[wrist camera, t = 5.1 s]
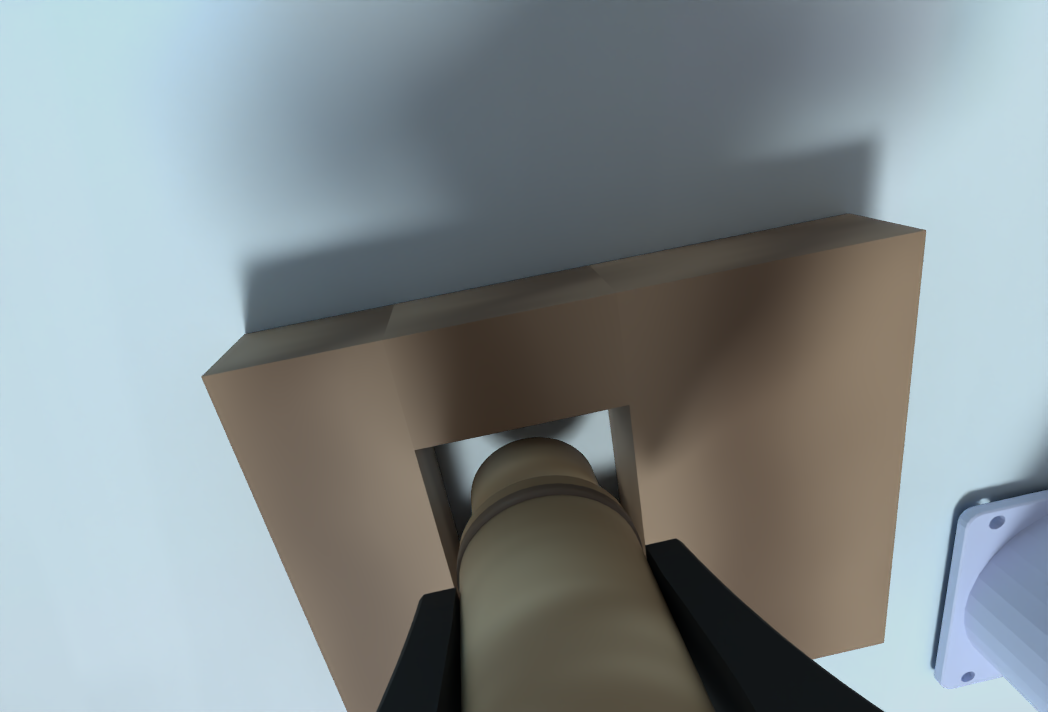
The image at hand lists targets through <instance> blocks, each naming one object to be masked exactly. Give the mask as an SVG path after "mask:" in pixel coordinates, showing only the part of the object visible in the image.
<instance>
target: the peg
mask: <svg viewBox="0 0 1048 712" xmlns="http://www.w3.org/2000/svg"><path fill="white" fill-rule="evenodd" d="M471 506H472V516H471V518H470V519H469V521H468V522H467V524H466V527H465V529H464V531H463V534H462V537H461V540H460V547H459V551H458V556H457V586H458V591H459V595H460V657H461V712H715V710H714V707H713V705H712V703H711V701H710V699H709V696H708V694H707V692H706V690H705V687H704V685H703V683H702V681H701V679H700V676H699V674H698V672H697V670H696V667H695V665H694V663H693V661H692V659H691V656H690V654H689V652H688V650H687V647H686V645H685V643H684V641H683V639H682V636H681V634H680V632H679V630H678V627H677V625H676V623H675V621H674V619H673V616H672V614H671V612H670V610H669V607H668V605H667V603H666V601H665V599H664V596H663V594H662V592H661V590H660V587H659V585H658V583H657V581H656V579H655V576H654V574H653V572H652V570H651V567H650V565H649V563H648V561H647V559H646V556H645V554H644V552H643V548H642V543H641V540H640V537H639V535H638V532H637V530H636V528H635V526H634V524H633V522H632V520H631V518H630V517H629V515H628V514H627V513H626V511H625V510H624V509H623V507H622V506H621V504H620V503H619V502H618V501H617V500H616V498H615V497H614V496H612V495H611V494H610V493H609V492H608V491H606V490H605V489H603V488H602V487H600V486H599V484H598V482H597V480H596V477H595V475H594V472H593V470H592V467H591V465H590V464H589V462H588V460H587V459H586V458H585V457H584V455H583V454H582V453H581V452H579V451H578V450H577V449H576V448H574V447H573V446H571V445H569V444H567V443H565V442H562V441H559V440H556V439H551V438H543V437H534V438H526V439H521V440H517V441H514V442H512V443H509V444H507V445H505V446H503V447H501V448H499V449H498V450H497V451H495V452H494V453H492V454H491V455H490V456H489V457H488V458H487V459H486V460H485V461H484V462H483V464H482V465H481V466H480V468H479V469H478V471H477V473H476V475H475V477H474V480H473V484H472V489H471Z"/></svg>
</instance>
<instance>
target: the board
mask: <svg viewBox="0 0 1048 712" xmlns="http://www.w3.org/2000/svg"><path fill="white" fill-rule="evenodd" d="M925 237H926V230H923V229H919V228H914V227H909V226H905V225H900V224H895V223H891V222H886V221H881V220H877V219H872V218H868V217H863V216H858V215H854V214H844V215H839V216H834V217H829V218H824V219H819V220H814V221H809V222H804V223H799V224H794V225H789V226H784V227H779V228H774V229H769V230H764V231H759V232H754V233H749V234H744V235H739V236H734V237H729V238H724V239H719V240H714V241H709V242H704V243H699V244H694V245H689V246H684V247H679V248H674V249H669V250H664V251H659V252H654V253H649V254H644V255H639V256H634V257H629V258H624V259H619V260H614V261H609V262H604V263H599V264H594V265H589V266H584V267H579V268H574V269H569V270H564V271H559V272H554V273H549V274H544V275H539V276H534V277H529V278H524V279H519V280H514V281H509V282H504V283H499V284H494V285H489V286H484V287H479V288H474V289H469V290H464V291H459V292H454V293H449V294H444V295H439V296H434V297H429V298H424V299H419V300H414V301H409V302H404V303H399V304H393V305H388V306H383V307H378V308H373V309H368V310H363V311H358V312H353V313H348V314H343V315H338V316H333V317H328V318H323V319H318V320H313V321H308V322H303V323H298V324H293V325H288V326H283V327H278V328H273V329H268V330H263V331H258V332H253V333H248V334H244V335H243V336H242V337H241V338H240V339H239V340H238V341H237V342H236V343H235V344H234V345H233V346H232V347H231V348H230V349H229V350H228V351H227V352H226V353H225V354H224V355H223V356H222V357H221V358H220V359H219V360H218V361H217V362H216V363H215V364H214V365H213V366H212V367H211V368H210V369H209V370H208V371H207V372H206V373H205V374H204V375H203V376H202V380H203V382H204V384H205V386H206V389H207V391H208V393H209V396H210V398H211V400H212V403H213V405H214V407H215V409H216V412H217V414H218V416H219V419H220V421H221V423H222V425H223V428H224V430H225V432H226V435H227V437H228V439H229V441H230V444H231V446H232V448H233V451H234V453H235V455H236V458H237V460H238V462H239V464H240V467H241V469H242V471H243V474H244V476H245V478H246V480H247V483H248V485H249V487H250V490H251V492H252V494H253V497H254V499H255V501H256V503H257V506H258V508H259V510H260V513H261V515H262V517H263V519H264V522H265V524H266V526H267V529H268V531H269V533H270V536H271V538H272V540H273V542H274V545H275V547H276V549H277V552H278V554H279V556H280V558H281V561H282V563H283V565H284V568H285V570H286V572H287V575H288V577H289V579H290V581H291V584H292V586H293V588H294V591H295V593H296V595H297V597H298V600H299V602H300V604H301V607H302V609H303V611H304V614H305V616H306V618H307V620H308V623H309V625H310V627H311V630H312V632H313V634H314V636H315V639H316V641H317V643H318V646H319V648H320V650H321V653H322V655H323V657H324V659H325V662H326V664H327V666H328V669H329V671H330V673H331V675H332V678H333V680H334V682H335V685H336V687H337V689H338V691H339V694H340V696H341V698H342V701H343V703H344V705H345V708H346V710H347V712H376V711H377V709H378V706H379V704H380V702H381V699H382V697H383V695H384V692H385V690H386V688H387V685H388V683H389V681H390V678H391V676H392V673H393V671H394V669H395V666H396V664H397V661H398V659H399V656H400V654H401V651H402V648H403V646H404V643H405V641H406V638H407V635H408V632H409V630H410V627H411V624H412V621H413V618H414V615H415V612H416V609H417V606H418V603H419V600H420V599H421V597H422V596H423V595H424V594H428V593H432V592H437V591H441V590H446V589H450V588H455V587H456V590H457V593H458V597H459V600H460V595H459V591H458V586H457V556H458V551H459V547H460V541H459V538H458V534H457V531H456V527H455V523H454V520H453V516H452V512H451V509H450V505H449V501H448V498H447V494H446V490H445V487H444V483H443V479H442V476H441V472H440V469H439V465H438V461H437V458H436V454H435V450H434V447H433V446H437V445H442V444H446V443H451V442H456V441H461V440H465V439H470V438H475V437H480V436H484V435H489V434H494V433H499V432H503V431H508V430H513V429H518V428H522V427H527V426H532V425H537V424H541V423H546V422H551V421H556V420H560V419H565V418H570V417H575V416H579V415H584V414H589V413H593V412H598V411H603V410H608V411H609V419H610V427H611V434H612V442H613V450H614V457H615V465H616V473H617V481H618V488H619V496H620V504H621V506H622V507H623V509H624V510H625V511H626V513H627V514H628V515H629V517H630V518H631V520H632V522H633V524H634V526H635V528H636V530H637V532H638V535H639V537H640V540H641V543H642V548H643V552H644V554H645V556H646V550H645V545H648V544H653V543H657V542H661V541H666V540H670V539H675V538H677V539H678V540H680V541H681V542H683V544H684V545H685V546H686V547H687V548H688V549H689V550H690V551H691V552H692V553H693V554H694V555H695V556H696V557H697V558H698V559H699V560H700V561H701V562H702V563H703V564H704V565H705V566H706V567H707V568H708V569H709V570H710V571H711V572H712V573H713V574H714V575H715V576H716V577H717V578H718V579H719V580H720V581H721V582H722V583H723V584H724V585H725V586H727V587H728V588H729V589H730V590H731V591H732V592H733V593H734V594H735V595H736V596H737V597H738V598H739V599H741V600H742V601H743V602H744V603H745V604H746V605H747V606H749V607H750V608H751V609H752V610H753V611H754V612H755V613H756V614H758V615H759V616H760V617H761V618H762V619H763V620H764V621H766V622H767V623H768V624H769V625H770V626H771V627H773V628H774V629H775V630H776V631H777V632H779V633H780V634H781V635H782V636H783V637H785V638H786V639H787V640H788V641H789V642H791V643H792V644H793V645H794V646H796V647H797V648H798V649H799V650H801V651H802V652H803V653H804V654H806V655H807V656H808V657H809V658H811V659H816V658H820V657H825V656H829V655H833V654H838V653H842V652H846V651H851V650H855V649H859V648H863V647H868V646H872V645H876V644H881V643H884V636H885V626H886V616H887V607H888V597H889V587H890V578H891V568H892V558H893V548H894V539H895V529H896V519H897V509H898V500H899V490H900V480H901V470H902V461H903V451H904V441H905V432H906V422H907V412H908V402H909V393H910V383H911V373H912V363H913V354H914V344H915V334H916V325H917V315H918V305H919V295H920V286H921V276H922V266H923V256H924V247H925ZM646 559H647V558H646Z"/></svg>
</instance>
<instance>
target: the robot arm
mask: <svg viewBox="0 0 1048 712" xmlns="http://www.w3.org/2000/svg"><path fill="white" fill-rule="evenodd" d="M645 550H646V558H647V561H648V563H649V565H650V567H651V570H652V572H653V574H654V576H655V579H656V581H657V583H658V585H659V587H660V590H661V592H662V594H663V596H664V599H665V601H666V603H667V605H668V607H669V610H670V612H671V614H672V616H673V619H674V621H675V623H676V625H677V627H678V630H679V632H680V634H681V636H682V639H683V641H684V643H685V645H686V647H687V650H688V652H689V654H690V656H691V659H692V661H693V663H694V665H695V667H696V670H697V672H698V674H699V676H700V679H701V681H702V683H703V685H704V687H705V690H706V692H707V694H708V696H709V699H710V701H711V703H712V705H713V707H714V710H715V712H884V711H882V710H881V709H879V708H878V707H876V706H875V705H874V704H872V703H871V702H869V701H868V700H866V699H865V698H864V697H862V696H861V695H859V694H858V693H857V692H855V691H854V690H852V689H851V688H849V687H848V686H847V685H845V684H844V683H842V682H841V681H840V680H838V679H837V678H836V677H834V676H833V675H832V674H830V673H829V672H828V671H826V670H825V669H824V668H822V667H821V666H820V665H818V664H817V663H816V662H815V661H813V660H812V659H811V658H809V657H808V656H807V655H806V654H804V653H803V652H802V651H801V650H799V649H798V648H797V647H796V646H794V645H793V644H792V643H791V642H789V641H788V640H787V639H786V638H785V637H783V636H782V635H781V634H780V633H779V632H777V631H776V630H775V629H774V628H773V627H771V626H770V625H769V624H768V623H767V622H766V621H764V620H763V619H762V618H761V617H760V616H759V615H758V614H756V613H755V612H754V611H753V610H752V609H751V608H750V607H749V606H747V605H746V604H745V603H744V602H743V601H742V600H741V599H739V598H738V597H737V596H736V595H735V594H734V593H733V592H732V591H731V590H730V589H729V588H728V587H727V586H725V585H724V584H723V583H722V582H721V581H720V580H719V579H718V578H717V577H716V576H715V575H714V574H713V573H712V572H711V571H710V570H709V569H708V568H707V567H706V566H705V565H704V564H703V563H702V562H701V561H700V560H699V559H698V558H697V557H696V556H695V555H694V554H693V553H692V552H691V551H690V550H689V549H688V548H687V547H686V546H685V545H684V544H683V542H681V541H680V540H678V539H677V538H675V539H670V540H666V541H661V542H657V543H653V544H648V545H645ZM934 677H935V679H936V680H937V681H938V682H939V683H940V685H941V686H942V687H943V688H947V689H952V688H957V687H961V686H966V685H970V684H974V683H978V682H983V681H987V680H991V679H995V678H999V677H1004V678H1005V679H1006V680H1007V681H1008V682H1009V683H1010V684H1011V685H1012V686H1013V687H1014V688H1015V689H1016V690H1017V691H1018V692H1019V693H1020V694H1021V695H1022V696H1023V697H1024V698H1025V699H1026V700H1027V701H1028V702H1029V703H1030V704H1031V705H1032V706H1033V707H1034V708H1035V709H1036V710H1037V711H1038V712H1048V490H1044V491H1040V492H1035V493H1031V494H1026V495H1022V496H1017V497H1013V498H1009V499H1004V500H1000V501H995V502H991V503H986V504H982V505H977V506H973V507H970V508H968V509H966V510H965V511H964V512H963V513H962V514H961V515H960V517H959V519H958V524H957V530H956V537H955V543H954V550H953V556H952V562H951V569H950V575H949V582H948V588H947V595H946V601H945V608H944V614H943V620H942V627H941V633H940V640H939V646H938V653H937V659H936V665H935V672H934ZM376 712H461V657H460V600H459V597H458V593H457V590H456V587H455V588H450V589H446V590H441V591H437V592H432V593H428V594H424V595H423V596H422V597H421V599H420V600H419V603H418V606H417V609H416V612H415V615H414V618H413V621H412V624H411V627H410V630H409V632H408V635H407V638H406V641H405V643H404V646H403V648H402V651H401V654H400V656H399V659H398V661H397V664H396V666H395V669H394V671H393V673H392V676H391V678H390V681H389V683H388V685H387V688H386V690H385V692H384V695H383V697H382V699H381V702H380V704H379V706H378V709H377V711H376Z"/></svg>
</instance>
